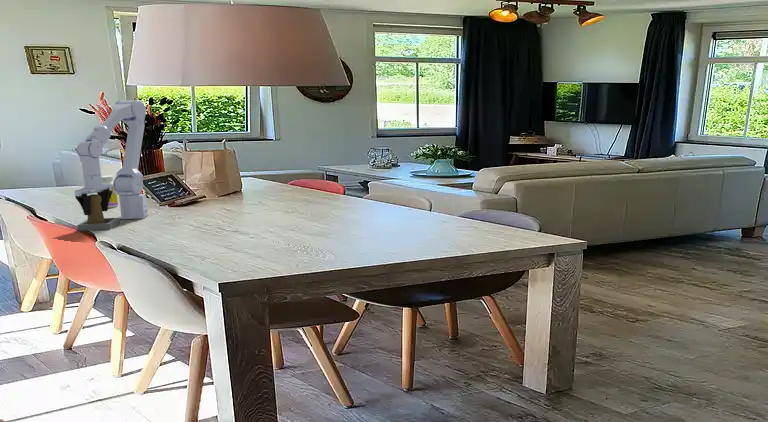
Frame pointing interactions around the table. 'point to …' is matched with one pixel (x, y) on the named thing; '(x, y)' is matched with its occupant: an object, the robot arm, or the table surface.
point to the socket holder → (99, 224)
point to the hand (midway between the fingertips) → (96, 213)
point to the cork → (95, 210)
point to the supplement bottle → (113, 199)
